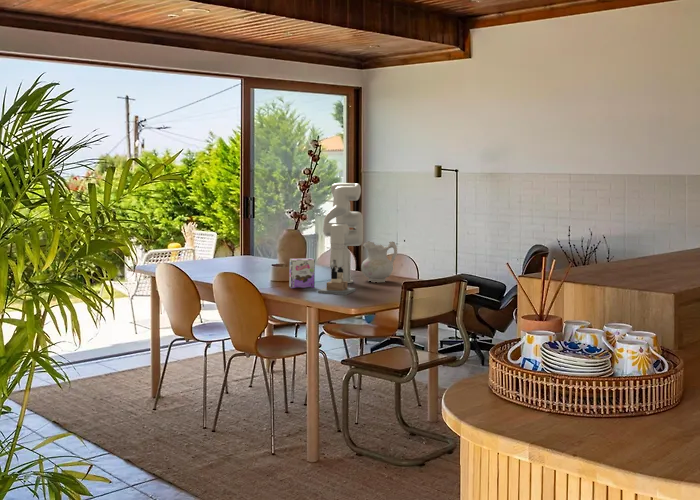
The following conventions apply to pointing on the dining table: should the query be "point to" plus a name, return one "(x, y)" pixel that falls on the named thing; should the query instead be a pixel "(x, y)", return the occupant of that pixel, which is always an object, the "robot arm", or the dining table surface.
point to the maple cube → (338, 278)
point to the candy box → (302, 273)
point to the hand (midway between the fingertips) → (337, 277)
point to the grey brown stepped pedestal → (337, 288)
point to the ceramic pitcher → (378, 262)
